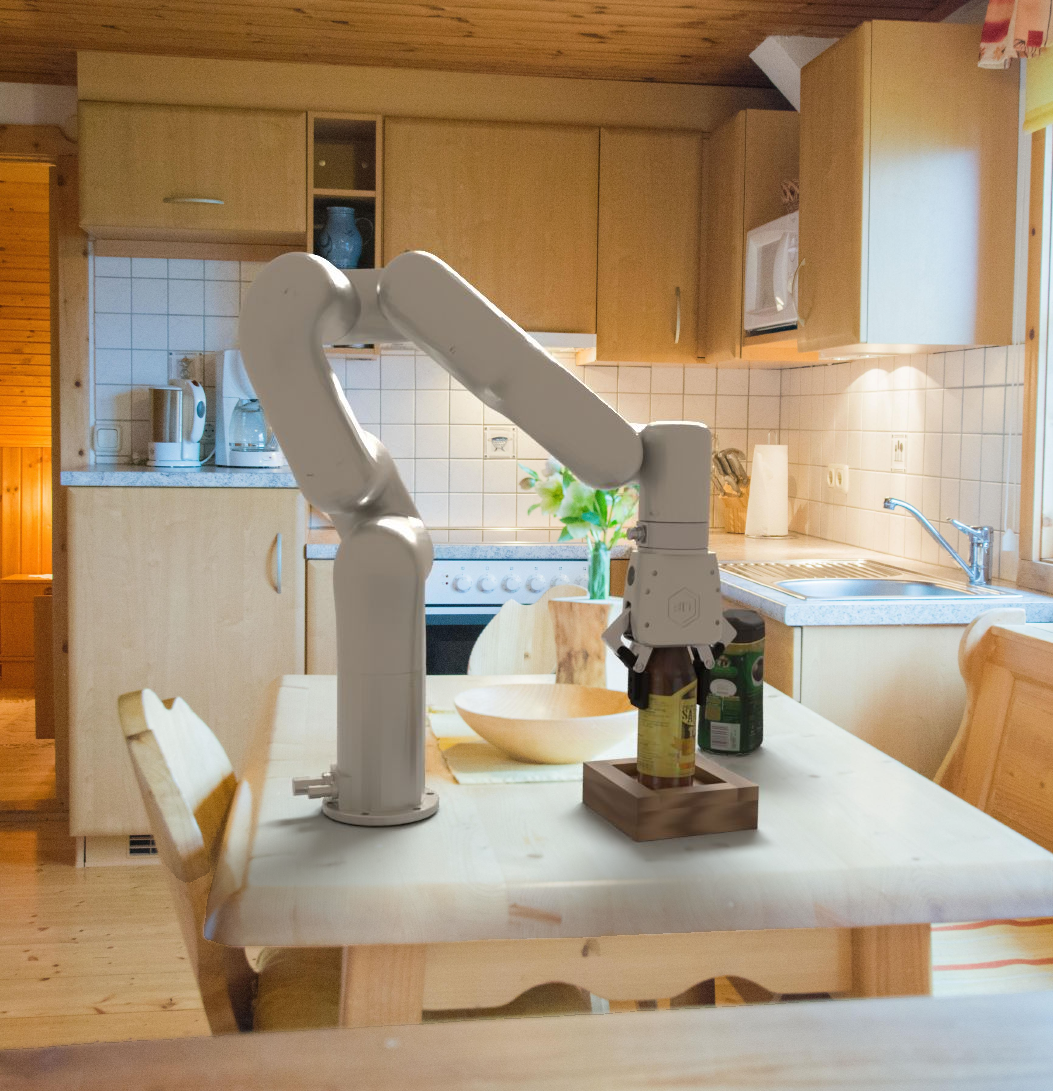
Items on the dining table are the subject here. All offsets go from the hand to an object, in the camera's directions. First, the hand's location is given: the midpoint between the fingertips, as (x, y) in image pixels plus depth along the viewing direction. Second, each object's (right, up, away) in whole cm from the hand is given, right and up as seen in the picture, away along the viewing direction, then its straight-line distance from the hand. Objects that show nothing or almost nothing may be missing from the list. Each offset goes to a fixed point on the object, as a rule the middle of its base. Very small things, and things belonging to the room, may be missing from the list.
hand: (668, 703), depth 122 cm
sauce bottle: (0, -9, +1) cm, 9 cm away
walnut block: (0, -12, +1) cm, 12 cm away
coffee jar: (+12, -10, +30) cm, 34 cm away
